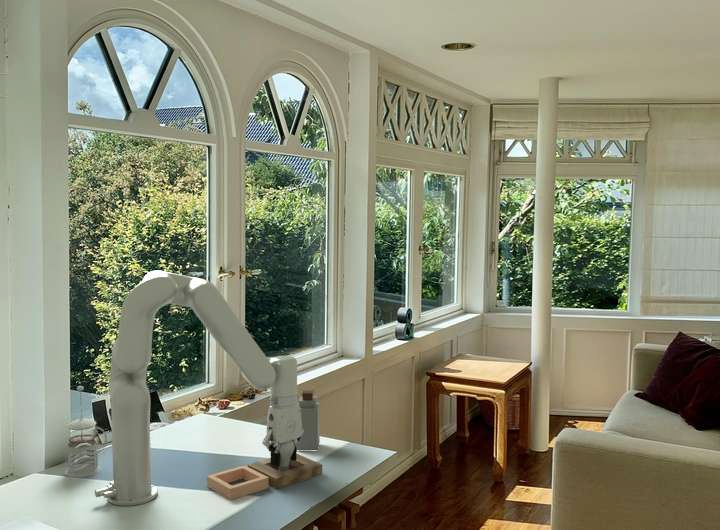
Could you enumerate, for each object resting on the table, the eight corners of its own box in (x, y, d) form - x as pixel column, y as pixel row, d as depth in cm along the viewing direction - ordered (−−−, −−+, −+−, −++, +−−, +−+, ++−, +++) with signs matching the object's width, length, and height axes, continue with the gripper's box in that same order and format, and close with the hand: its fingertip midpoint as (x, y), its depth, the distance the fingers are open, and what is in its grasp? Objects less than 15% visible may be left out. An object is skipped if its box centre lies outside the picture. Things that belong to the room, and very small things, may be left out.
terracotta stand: (230, 500, 188) (230, 488, 188) (207, 486, 197) (206, 475, 197) (268, 488, 196) (268, 477, 196) (244, 475, 205) (244, 465, 205)
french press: (63, 468, 211) (60, 384, 209) (104, 461, 216) (102, 379, 214) (66, 479, 202) (63, 391, 200) (109, 472, 208) (107, 387, 205)
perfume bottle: (317, 451, 225) (317, 394, 224) (296, 451, 226) (295, 394, 224) (319, 444, 232) (319, 389, 231) (298, 444, 232) (298, 389, 231)
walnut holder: (275, 489, 195) (275, 478, 195) (247, 474, 206) (247, 464, 205) (322, 474, 206) (322, 464, 206) (293, 461, 216) (293, 451, 216)
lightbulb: (286, 479, 202) (286, 441, 201) (268, 475, 204) (268, 437, 204) (298, 472, 207) (298, 435, 206) (280, 469, 210) (281, 431, 209)
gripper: (270, 409, 195) (270, 474, 196) (314, 396, 208) (314, 457, 210) (251, 404, 200) (251, 467, 201) (295, 392, 213) (295, 452, 214)
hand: (283, 462), depth 205 cm, fingers closed on lightbulb, 5 cm apart
